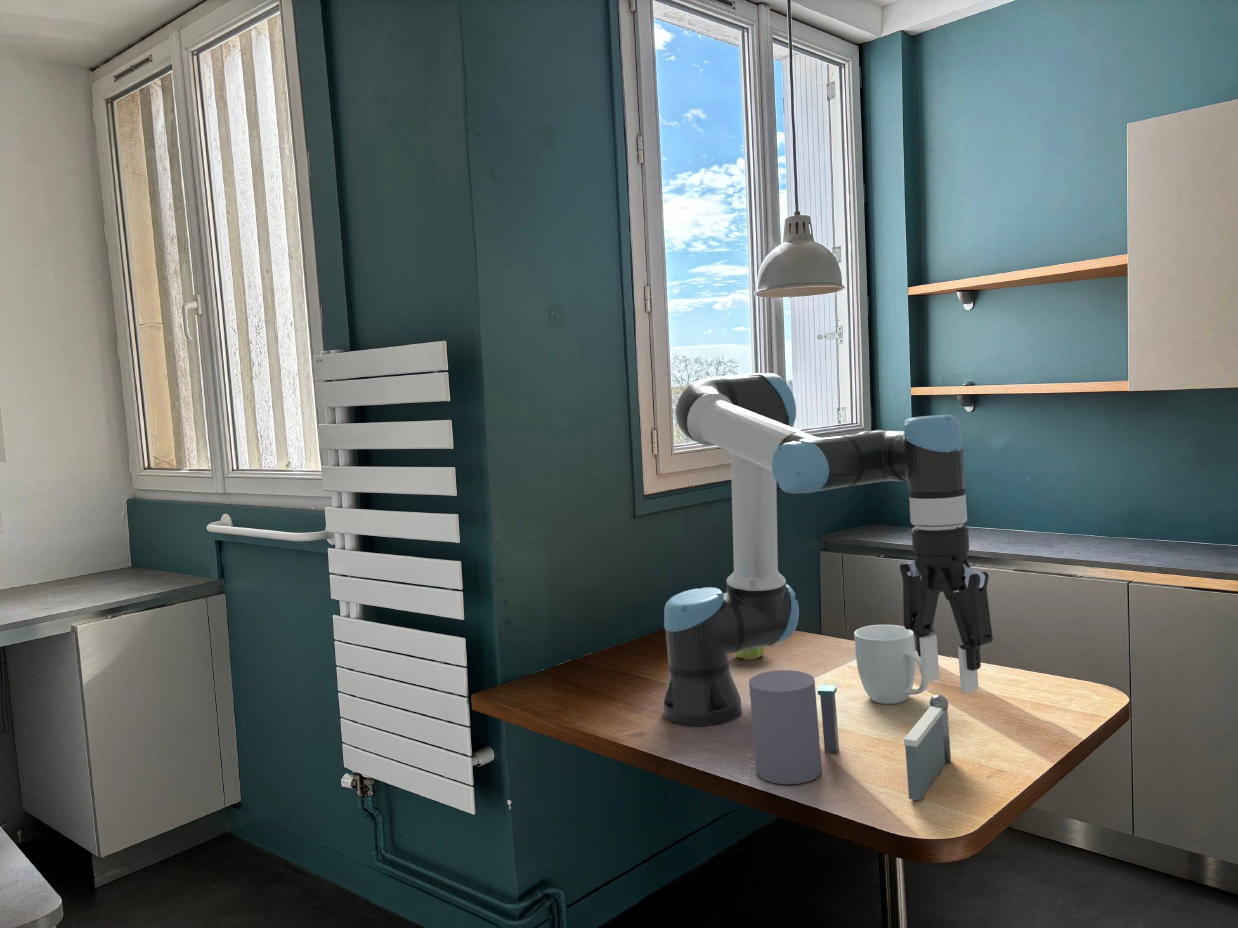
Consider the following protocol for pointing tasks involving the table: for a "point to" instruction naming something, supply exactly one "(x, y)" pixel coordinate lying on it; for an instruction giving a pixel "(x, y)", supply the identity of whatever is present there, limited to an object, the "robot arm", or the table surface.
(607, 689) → the table surface
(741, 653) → the plant pot
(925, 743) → the grey flat board
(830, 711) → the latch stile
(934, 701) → the hinge post
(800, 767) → the container
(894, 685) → the mug
